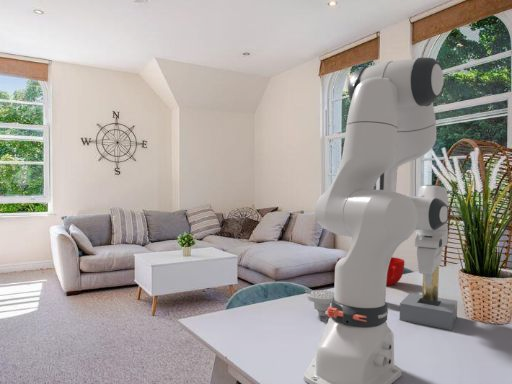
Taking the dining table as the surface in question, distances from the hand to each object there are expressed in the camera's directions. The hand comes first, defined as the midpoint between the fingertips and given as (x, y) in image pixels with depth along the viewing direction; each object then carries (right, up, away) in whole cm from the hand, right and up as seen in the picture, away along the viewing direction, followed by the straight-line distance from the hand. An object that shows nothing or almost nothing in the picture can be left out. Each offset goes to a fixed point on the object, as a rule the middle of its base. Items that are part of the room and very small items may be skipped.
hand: (430, 283), depth 118 cm
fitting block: (0, -11, 0) cm, 11 cm away
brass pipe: (0, -5, 0) cm, 5 cm away
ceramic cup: (+1, -10, +40) cm, 42 cm away
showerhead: (-33, -10, +1) cm, 35 cm away
